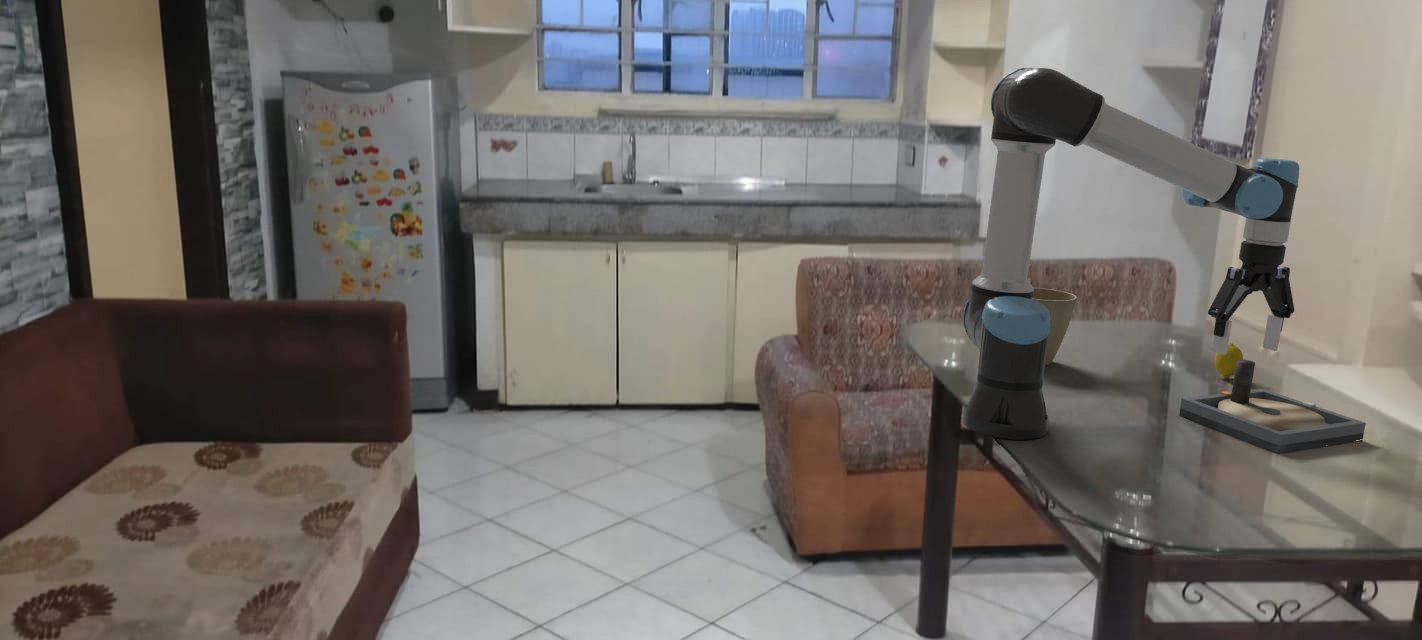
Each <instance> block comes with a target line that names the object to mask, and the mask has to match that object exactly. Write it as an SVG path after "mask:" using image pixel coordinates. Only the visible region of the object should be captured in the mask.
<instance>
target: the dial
mask: <svg viewBox="0 0 1422 640" xmlns="http://www.w3.org/2000/svg"><path fill="white" fill-rule="evenodd" d="M1255 366H1256V362H1255V361H1253V360H1248V359H1243V360H1237V362H1236V368H1235V375H1233V382H1232V388H1231V393H1232V394H1231V398H1230V399H1225V400H1222V401H1220V402H1219V404H1218V409H1220V410H1222V411H1225V412H1228V413H1231V414H1233V415H1236V416H1239V417H1242V418H1244V419H1247V420H1250V421H1253V422H1255V423H1258V424H1261V425H1264V426H1266V427H1269V428H1272V429H1274V430H1277V431H1286V430H1293V429H1300V428H1307V427H1314V426H1321V425H1325V419H1324V418H1323V417H1322V416H1321V415H1319V414H1318V413H1316V412H1313V411H1311V410H1309V409H1306V408H1303V407H1300V406H1296V405H1292V404H1288V403H1284V402H1279V401H1273V400H1266V399H1257V398H1250V392H1251V390H1252V384H1253V378H1254V373H1255Z"/></svg>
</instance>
